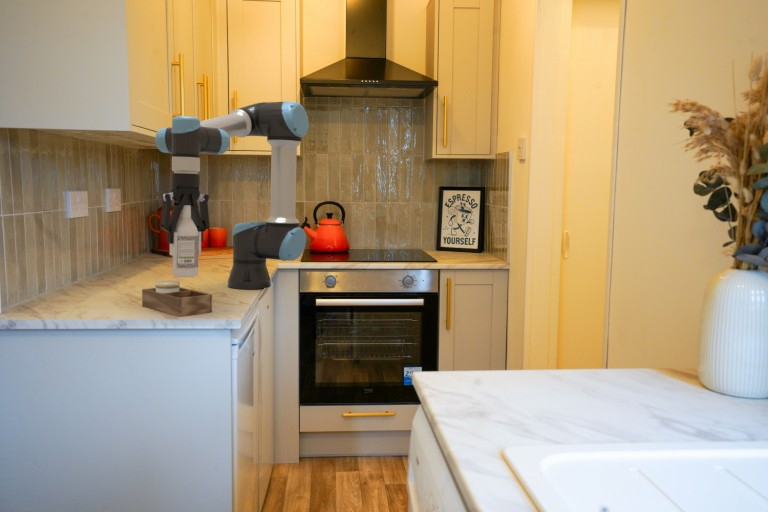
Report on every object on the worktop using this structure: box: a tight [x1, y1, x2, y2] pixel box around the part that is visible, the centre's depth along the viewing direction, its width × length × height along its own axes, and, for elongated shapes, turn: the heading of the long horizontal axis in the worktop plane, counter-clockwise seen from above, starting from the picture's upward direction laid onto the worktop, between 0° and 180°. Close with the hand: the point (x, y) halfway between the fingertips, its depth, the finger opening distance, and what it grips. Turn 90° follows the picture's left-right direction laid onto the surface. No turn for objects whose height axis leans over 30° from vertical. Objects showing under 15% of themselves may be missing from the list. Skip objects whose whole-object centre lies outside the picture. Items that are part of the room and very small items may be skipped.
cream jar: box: [154, 280, 181, 293], centre depth 194 cm, size 7×7×6 cm
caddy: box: [141, 287, 213, 317], centre depth 191 cm, size 10×20×5 cm, turn 48°
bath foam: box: [171, 205, 199, 278], centre depth 186 cm, size 7×7×20 cm
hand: (185, 254), depth 186 cm, fingers closed on bath foam, 7 cm apart
